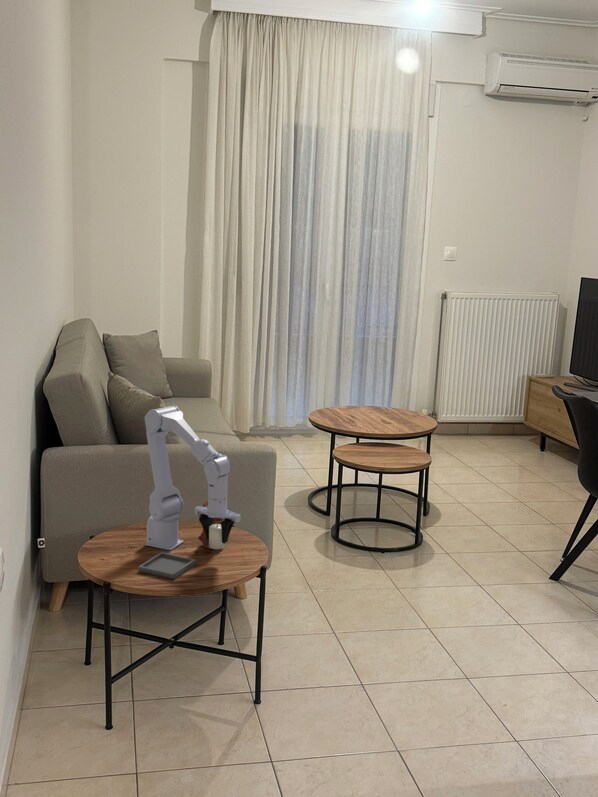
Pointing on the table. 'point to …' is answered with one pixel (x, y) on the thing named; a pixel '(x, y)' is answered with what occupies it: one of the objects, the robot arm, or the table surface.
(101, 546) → the table surface
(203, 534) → the mug
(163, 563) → the tray
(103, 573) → the table surface
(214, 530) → the candle
